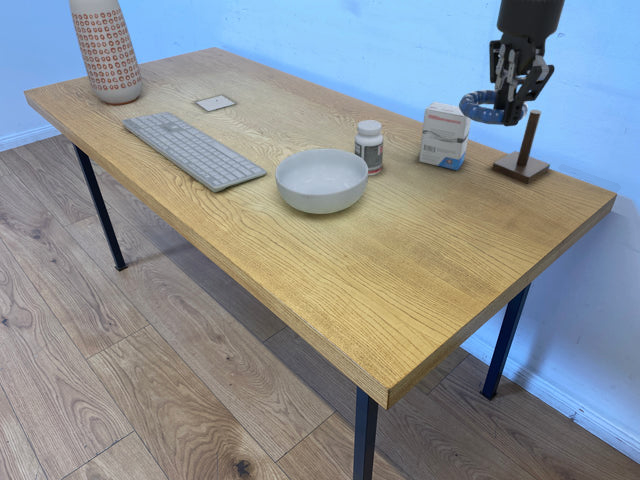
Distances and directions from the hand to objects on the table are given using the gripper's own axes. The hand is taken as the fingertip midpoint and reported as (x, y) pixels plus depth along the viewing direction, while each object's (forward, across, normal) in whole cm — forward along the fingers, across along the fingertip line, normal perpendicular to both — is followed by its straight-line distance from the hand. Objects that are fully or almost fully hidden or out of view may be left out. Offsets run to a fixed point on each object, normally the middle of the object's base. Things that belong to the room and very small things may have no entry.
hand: (504, 120), depth 70 cm
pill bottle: (+20, +23, +14) cm, 33 cm away
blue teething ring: (-1, +4, 0) cm, 4 cm away
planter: (+20, +76, +71) cm, 107 cm away
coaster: (+20, +67, +45) cm, 84 cm away
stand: (+19, +16, -16) cm, 30 cm away
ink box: (+20, +23, -2) cm, 31 cm away
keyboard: (+20, +40, +51) cm, 68 cm away
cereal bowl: (+20, +13, +25) cm, 35 cm away
